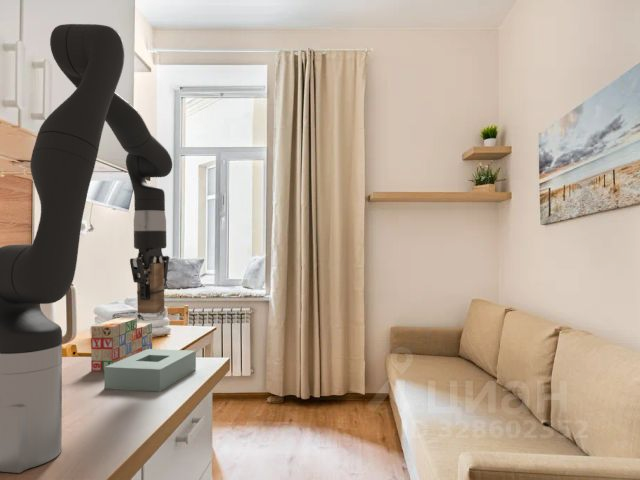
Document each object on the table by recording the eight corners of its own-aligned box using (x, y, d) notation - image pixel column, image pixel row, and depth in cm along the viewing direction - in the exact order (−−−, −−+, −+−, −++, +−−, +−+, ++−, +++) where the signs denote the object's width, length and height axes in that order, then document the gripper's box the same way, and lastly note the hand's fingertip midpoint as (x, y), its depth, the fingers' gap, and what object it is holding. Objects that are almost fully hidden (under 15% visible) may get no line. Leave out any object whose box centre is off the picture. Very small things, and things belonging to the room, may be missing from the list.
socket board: (160, 391, 99) (160, 369, 99) (104, 388, 101) (104, 366, 101) (195, 369, 117) (195, 350, 117) (147, 367, 119) (147, 349, 119)
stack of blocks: (133, 352, 137) (133, 313, 137) (152, 352, 136) (152, 313, 136) (90, 371, 116) (90, 325, 116) (112, 372, 115) (113, 325, 115)
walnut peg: (154, 313, 105) (153, 263, 105) (137, 313, 106) (136, 263, 106) (164, 310, 110) (163, 262, 110) (147, 309, 111) (147, 262, 111)
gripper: (147, 228, 100) (148, 303, 100) (178, 229, 114) (179, 294, 115) (118, 229, 102) (119, 302, 102) (152, 230, 116) (153, 294, 116)
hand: (151, 298), depth 108 cm, fingers closed on walnut peg, 4 cm apart
